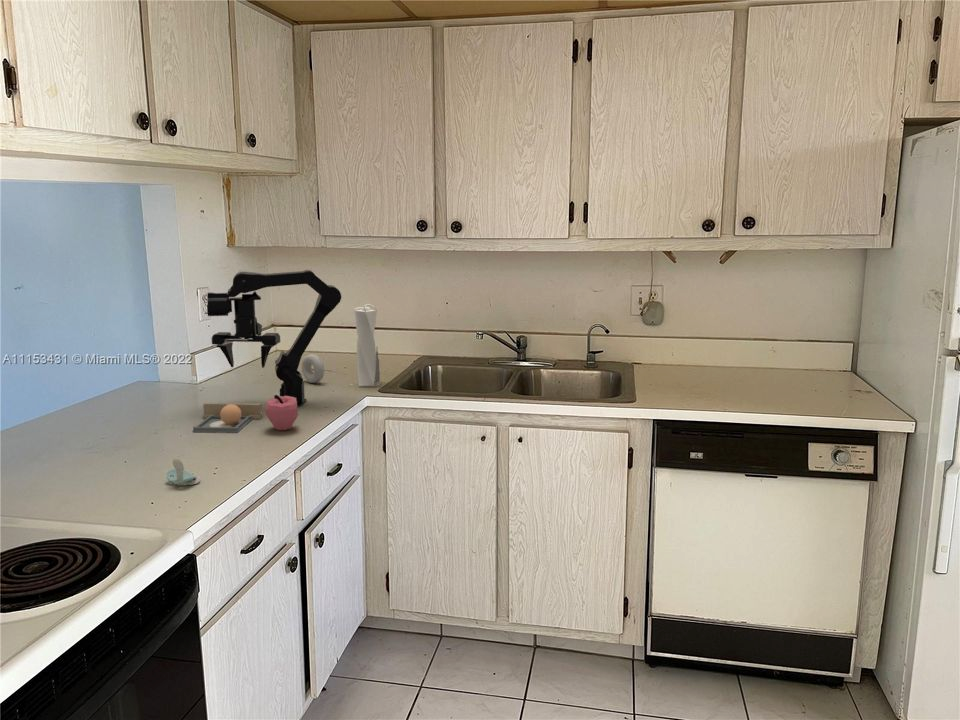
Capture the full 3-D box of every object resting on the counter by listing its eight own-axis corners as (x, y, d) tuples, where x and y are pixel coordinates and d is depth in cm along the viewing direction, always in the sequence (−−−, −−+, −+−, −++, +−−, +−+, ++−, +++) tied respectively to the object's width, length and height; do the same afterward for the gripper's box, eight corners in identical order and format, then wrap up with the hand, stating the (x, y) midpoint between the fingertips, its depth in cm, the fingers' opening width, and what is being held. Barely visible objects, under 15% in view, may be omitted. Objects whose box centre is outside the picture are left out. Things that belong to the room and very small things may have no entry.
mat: (251, 419, 204) (251, 415, 203) (237, 432, 192) (237, 428, 192) (209, 419, 204) (209, 415, 203) (192, 432, 192) (192, 427, 192)
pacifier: (189, 475, 162) (163, 482, 158) (188, 449, 161) (162, 454, 156) (206, 484, 157) (179, 491, 153) (205, 456, 156) (178, 462, 152)
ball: (234, 425, 201) (248, 412, 200) (227, 431, 195) (241, 418, 194) (220, 410, 200) (234, 398, 199) (212, 416, 194) (227, 403, 194)
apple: (298, 433, 192) (296, 397, 190) (264, 435, 190) (262, 398, 188) (300, 423, 201) (299, 388, 199) (268, 424, 200) (266, 389, 198)
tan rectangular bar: (262, 416, 207) (262, 402, 206) (259, 419, 204) (258, 405, 203) (207, 415, 207) (206, 402, 206) (203, 418, 204) (202, 404, 203)
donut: (327, 384, 245) (326, 355, 243) (319, 386, 242) (318, 357, 240) (307, 379, 251) (306, 351, 249) (299, 381, 248) (298, 353, 246)
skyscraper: (380, 387, 241) (378, 304, 235) (355, 388, 240) (353, 304, 234) (380, 381, 249) (378, 301, 243) (356, 382, 248) (354, 301, 242)
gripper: (284, 311, 219) (286, 362, 223) (223, 310, 219) (226, 361, 223) (273, 317, 208) (276, 370, 212) (209, 316, 209) (212, 369, 212)
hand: (247, 367), depth 215 cm, fingers open, 9 cm apart
